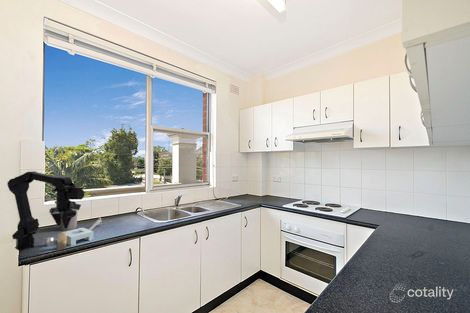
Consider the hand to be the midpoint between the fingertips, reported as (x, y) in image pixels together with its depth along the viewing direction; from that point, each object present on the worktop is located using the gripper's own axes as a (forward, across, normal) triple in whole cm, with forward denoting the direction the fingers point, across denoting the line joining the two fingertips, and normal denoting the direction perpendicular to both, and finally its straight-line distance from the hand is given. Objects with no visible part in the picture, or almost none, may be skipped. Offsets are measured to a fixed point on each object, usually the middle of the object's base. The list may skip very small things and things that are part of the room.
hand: (62, 226), depth 122 cm
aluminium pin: (+12, +11, +2) cm, 16 cm away
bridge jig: (+12, +6, -10) cm, 16 cm away
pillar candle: (+12, +36, -17) cm, 41 cm away
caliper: (+12, +20, -26) cm, 35 cm away
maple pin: (+12, 0, 0) cm, 12 cm away
